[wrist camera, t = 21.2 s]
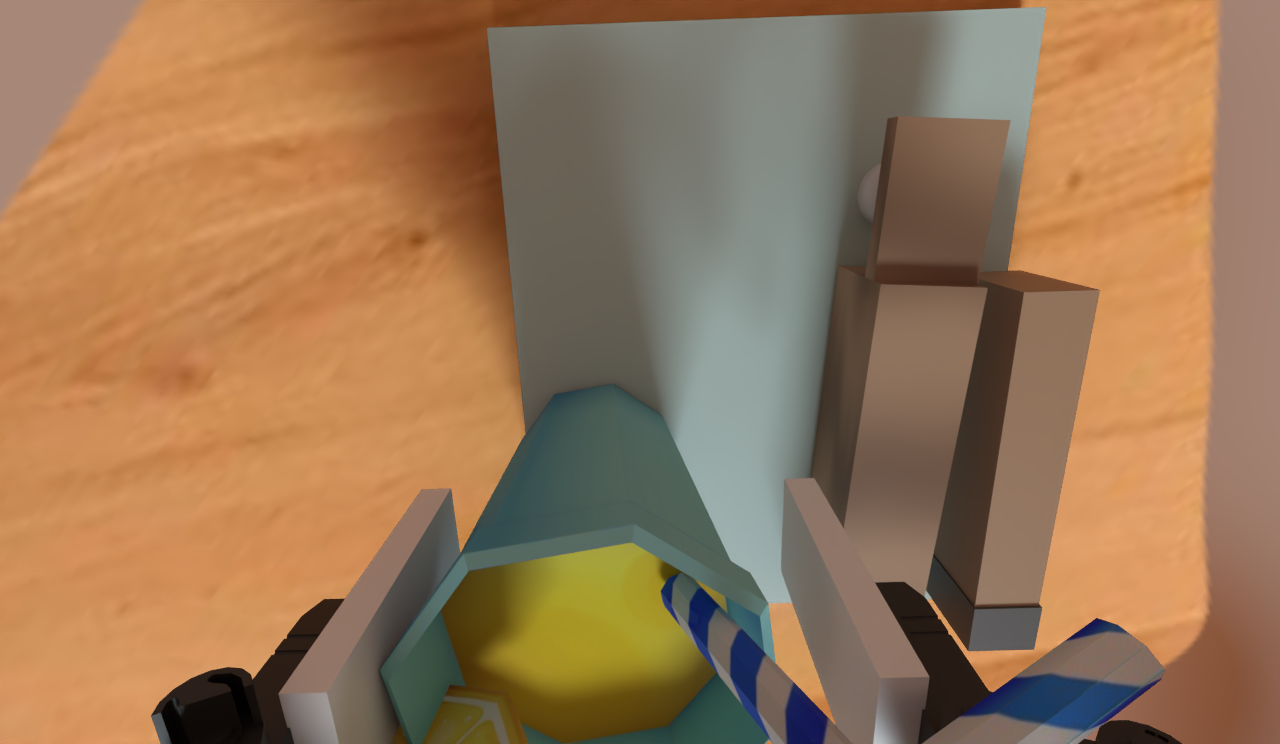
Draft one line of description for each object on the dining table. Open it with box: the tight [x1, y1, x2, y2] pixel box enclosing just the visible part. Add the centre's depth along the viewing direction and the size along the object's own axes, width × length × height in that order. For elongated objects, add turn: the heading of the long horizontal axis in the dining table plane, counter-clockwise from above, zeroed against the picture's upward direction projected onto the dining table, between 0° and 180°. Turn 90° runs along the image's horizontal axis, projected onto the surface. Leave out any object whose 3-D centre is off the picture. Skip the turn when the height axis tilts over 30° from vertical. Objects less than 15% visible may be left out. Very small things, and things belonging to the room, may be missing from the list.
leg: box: [811, 116, 1011, 597], centre depth 19 cm, size 16×3×4 cm, turn 178°
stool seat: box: [487, 7, 1100, 651], centre depth 19 cm, size 16×20×5 cm
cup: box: [380, 384, 1165, 744], centre depth 14 cm, size 14×8×15 cm, turn 122°
